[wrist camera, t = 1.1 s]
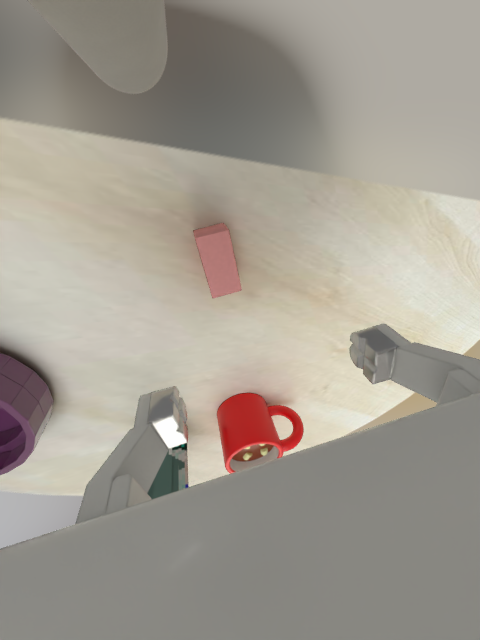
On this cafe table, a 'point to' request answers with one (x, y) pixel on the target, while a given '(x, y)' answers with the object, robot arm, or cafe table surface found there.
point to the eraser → (218, 259)
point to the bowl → (21, 412)
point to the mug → (253, 431)
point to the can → (171, 473)
